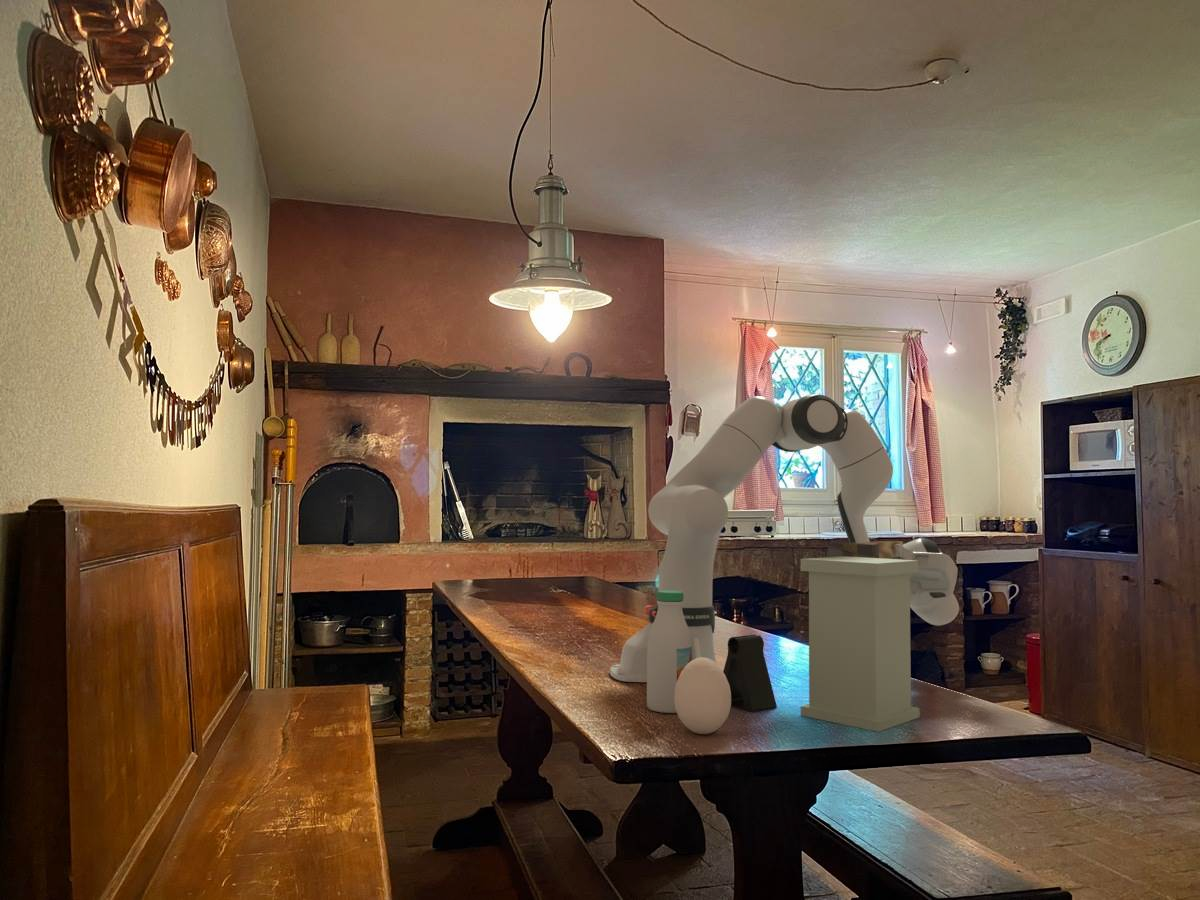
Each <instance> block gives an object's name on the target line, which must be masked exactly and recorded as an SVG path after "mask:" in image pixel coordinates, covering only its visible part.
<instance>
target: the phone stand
mask: <svg viewBox="0 0 1200 900" xmlns="http://www.w3.org/2000/svg"><path fill="white" fill-rule="evenodd" d="M764 645H765V643H764V639H763V637H762V636H761V635H759V634H750V635H749V634H748V635H747V634H746V635H740V636H739V635H738V636H731V637H729V638H728V640H727V655H726V659H725V664H724V666H723V669H722V671H723V672H724V674H725V676H726V678H727V681H728V683H729V685H730V691H731V708H734V709H737V710H741V711H743V712H744V711H745V712H748V713H756V712H760V711H767V710H771V709H776V708H777V705H778V704H777V702H776V699H775V698H776V697H775V694H774V689H773V687H772V682H771V679H770V678H771V677H770V674H769V671H768V670H769V668H768V665H767V662H766V657H765V654H764Z"/></svg>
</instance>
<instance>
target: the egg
mask: <svg viewBox="0 0 1200 900" xmlns="http://www.w3.org/2000/svg"><path fill="white" fill-rule="evenodd" d="M674 702H675V708H676V712H677V713H676V714H677V716H678V718H679V720H680V721H681V723H682V724H683V725H684V726H685V727H686V728H687V729H688V730H690V731H691V732H693V733H696V734H700V735H709V734H712V733H713V732H716V731H717V730H719V728H720V727H722V725H724V723H725V722H726V721H727V719H728V717H729V713H730V711H731V708H732V707H731V691H730V685H729V683H728V681H727V678H726V676H725V674H724V672H723V669H722V668H721V666H719V664H718V663H717V664H716V663H715V662H714V661H712V660H711V659H708V658H703V657H700V658H696V659H694V660H692V661H691V662H689V663H688V664H687V665H686V666H685V668H684V669H683V670H682V672H681V674H680V676H679V678H678V681H677V683H676V687H675V694H674Z"/></svg>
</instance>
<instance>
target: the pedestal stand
mask: <svg viewBox="0 0 1200 900" xmlns="http://www.w3.org/2000/svg"><path fill="white" fill-rule="evenodd" d="M800 572H808V704H804V705H801V706H800V716H802V717H806V718H812V719H816V720H820V721H825V722H831V723H835V724H840V725H845V726H848V727H849V726H850V727H854V728H859V729H863V730H867V731H874V732H877V733H878V732H882V731H885V730H888V729H891V728H893V727H896V726H899V725H902V724H906V723H908V722H910V721H913V720H916V719H919V718H920V716H921V715H920V712H921V711H920V707H917V706H916V707H915V706H912V689H911V688H912V684H911V683H912V680H911V679H912V677H911V676H912V674H911V668H912V667H911V666H912V664H911V661H912V660H911V658H912V657H911V607H910V573H917V572H918V560H901V559H883V558H865V557H848V556H839V557H828V556H827V557H811V558H809V557H808V558H800Z"/></svg>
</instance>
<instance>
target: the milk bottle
mask: <svg viewBox="0 0 1200 900" xmlns="http://www.w3.org/2000/svg"><path fill="white" fill-rule="evenodd" d="M683 599H684V594H683V592H682V591H675V590H662V591H659V590H658V591H657V592H656V605H658V611H657V615H656V618H655V620H654V622H653V625H652V627H651V629H650V632H649V637H648V649H647V682H646V706H647V709H648V710H650V711H653V712H657V713H664V714H677V712H676V708H675V702H674V694H675V687H676V683H677V681H678V678H679V676H680V674H681V672H682V670H683V669H684V668H685V666H686V665H687V664H688V663H689V662H691V661H692V640H691V634H690V631H689V628H688V626H687V623H686V621H685V618H684V615H683V611H682V605H683V604H684V603H683Z"/></svg>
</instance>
